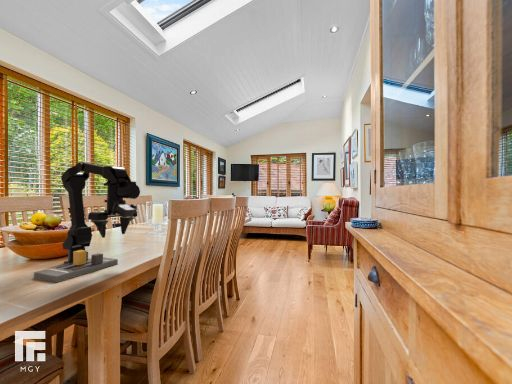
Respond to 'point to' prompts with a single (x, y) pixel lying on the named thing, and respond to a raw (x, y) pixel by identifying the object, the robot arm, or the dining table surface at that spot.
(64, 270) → the panel
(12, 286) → the dining table surface
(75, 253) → the toggle
